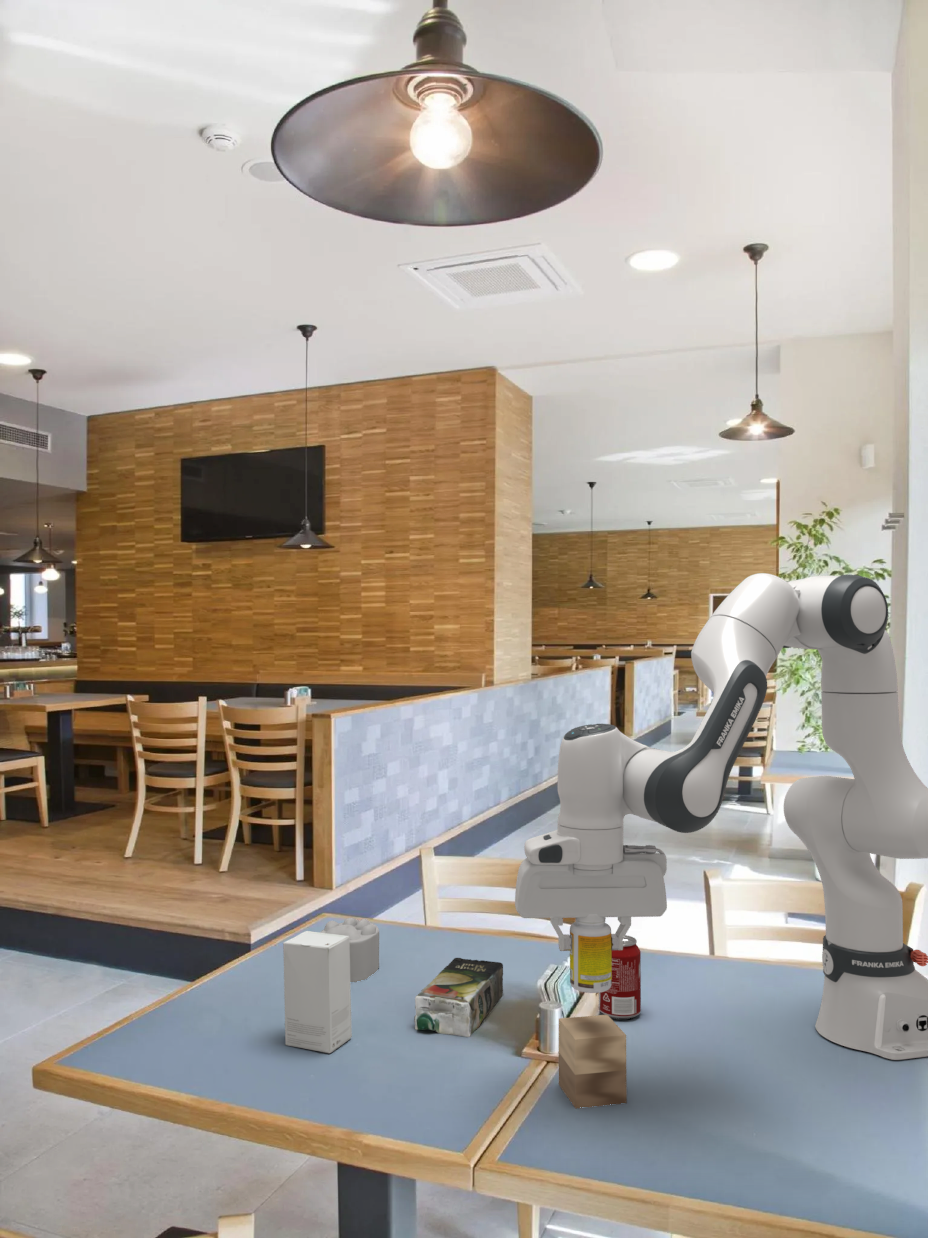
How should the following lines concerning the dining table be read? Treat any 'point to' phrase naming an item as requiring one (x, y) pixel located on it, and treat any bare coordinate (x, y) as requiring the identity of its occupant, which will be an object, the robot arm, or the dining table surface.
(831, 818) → the robot arm
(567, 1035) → the tower top block
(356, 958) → the lumpy-topped squat cylinder
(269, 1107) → the dining table surface
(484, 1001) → the juice carton
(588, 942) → the supplement bottle
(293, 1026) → the skincare box
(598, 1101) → the tower base block
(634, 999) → the soda can
